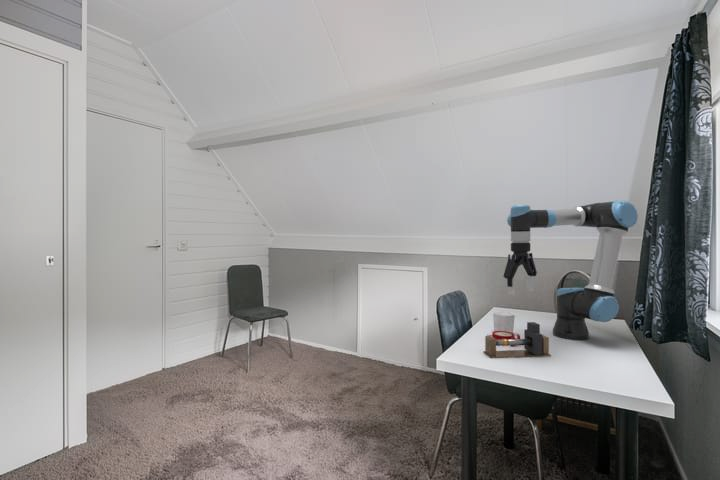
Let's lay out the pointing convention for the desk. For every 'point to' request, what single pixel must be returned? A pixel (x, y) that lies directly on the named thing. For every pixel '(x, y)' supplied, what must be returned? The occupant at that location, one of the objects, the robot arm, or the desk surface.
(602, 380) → the desk surface
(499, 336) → the alarm clock
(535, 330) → the dark grey stepped block
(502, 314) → the cup
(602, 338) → the desk surface
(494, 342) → the rail
